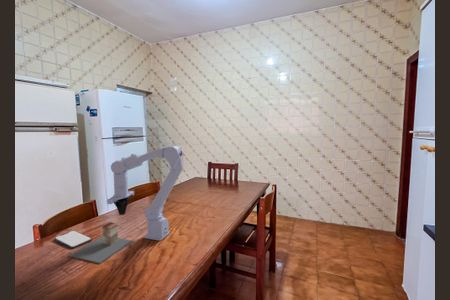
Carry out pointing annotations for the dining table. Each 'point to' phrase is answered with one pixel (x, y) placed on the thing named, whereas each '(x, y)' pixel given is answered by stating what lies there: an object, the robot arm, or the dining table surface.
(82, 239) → the phone case
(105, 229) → the maple block
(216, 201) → the dining table surface
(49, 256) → the dining table surface
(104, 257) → the rubber mat
